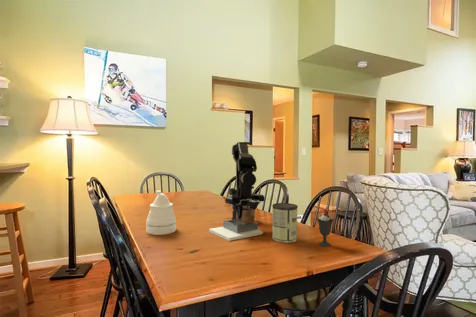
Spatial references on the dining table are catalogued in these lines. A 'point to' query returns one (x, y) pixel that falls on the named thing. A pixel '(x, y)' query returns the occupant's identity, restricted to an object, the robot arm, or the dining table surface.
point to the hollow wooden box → (246, 215)
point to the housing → (239, 226)
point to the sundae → (325, 227)
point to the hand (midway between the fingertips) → (245, 217)
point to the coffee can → (284, 222)
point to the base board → (234, 233)
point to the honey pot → (161, 216)
